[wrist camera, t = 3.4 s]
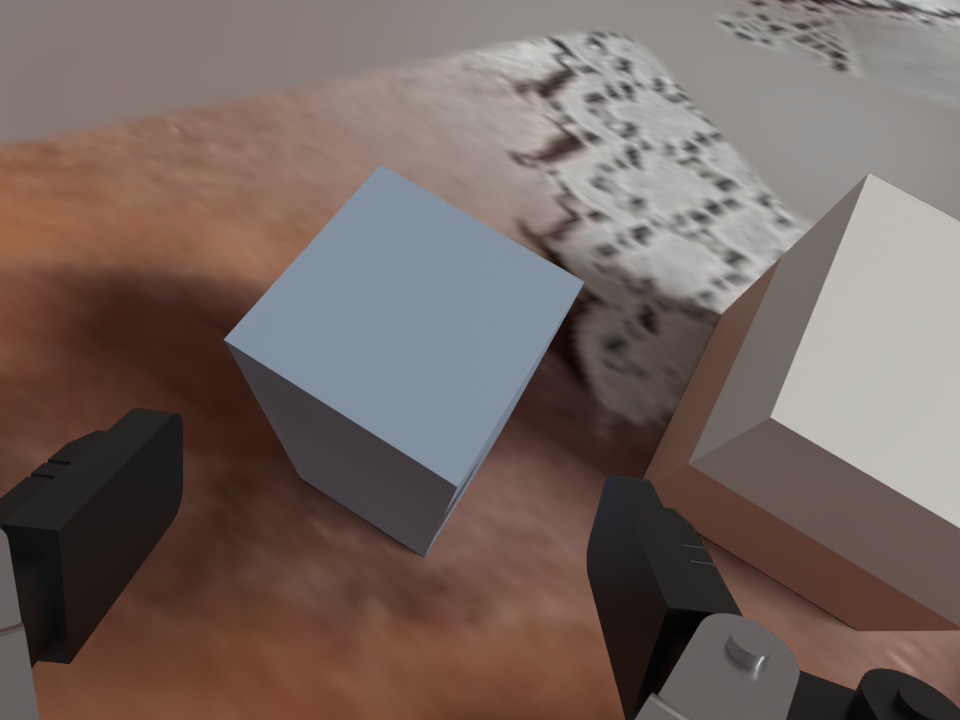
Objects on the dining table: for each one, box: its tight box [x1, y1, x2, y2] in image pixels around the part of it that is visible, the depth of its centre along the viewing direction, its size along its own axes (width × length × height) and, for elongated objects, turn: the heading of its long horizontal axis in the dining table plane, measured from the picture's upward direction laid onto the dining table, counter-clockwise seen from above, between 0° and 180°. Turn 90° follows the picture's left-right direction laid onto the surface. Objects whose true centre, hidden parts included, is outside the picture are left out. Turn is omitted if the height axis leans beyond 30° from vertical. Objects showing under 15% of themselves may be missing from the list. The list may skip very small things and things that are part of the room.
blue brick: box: [224, 164, 584, 558], centre depth 16 cm, size 4×4×10 cm
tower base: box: [643, 173, 960, 631], centre depth 18 cm, size 8×8×8 cm
